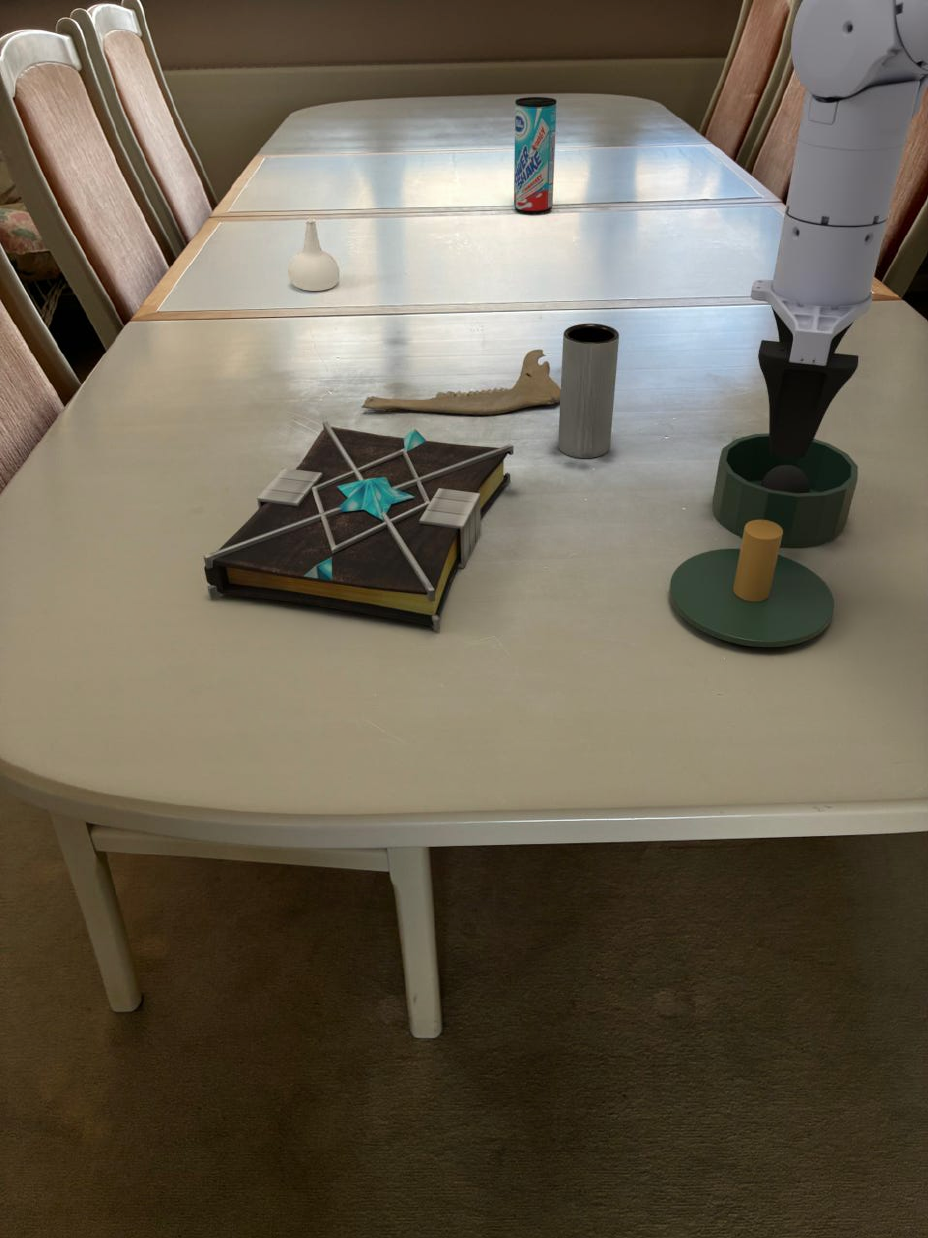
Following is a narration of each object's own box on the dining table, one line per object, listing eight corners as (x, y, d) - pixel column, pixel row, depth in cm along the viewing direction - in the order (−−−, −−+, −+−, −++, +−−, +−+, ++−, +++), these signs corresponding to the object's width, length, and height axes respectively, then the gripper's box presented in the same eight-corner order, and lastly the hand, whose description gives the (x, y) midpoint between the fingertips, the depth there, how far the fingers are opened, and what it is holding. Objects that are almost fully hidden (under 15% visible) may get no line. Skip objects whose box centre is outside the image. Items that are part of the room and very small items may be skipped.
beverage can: (506, 208, 148) (507, 99, 138) (539, 203, 150) (542, 95, 141) (526, 217, 143) (529, 105, 134) (559, 212, 146) (564, 101, 136)
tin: (845, 491, 77) (858, 442, 75) (843, 557, 70) (857, 505, 67) (720, 474, 80) (728, 426, 77) (704, 535, 73) (712, 484, 70)
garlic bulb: (313, 274, 124) (306, 209, 119) (350, 282, 121) (345, 216, 116) (279, 288, 120) (270, 221, 115) (317, 297, 117) (310, 228, 112)
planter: (618, 454, 83) (628, 338, 77) (569, 462, 82) (576, 346, 76) (596, 432, 87) (605, 320, 80) (550, 439, 86) (554, 326, 79)
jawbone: (590, 402, 93) (592, 383, 91) (401, 456, 85) (400, 436, 84) (539, 364, 99) (541, 345, 97) (358, 411, 91) (357, 391, 90)
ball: (801, 503, 76) (817, 463, 74) (799, 525, 73) (815, 485, 71) (756, 491, 76) (770, 451, 74) (752, 513, 74) (767, 472, 72)
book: (325, 457, 83) (319, 404, 80) (514, 481, 80) (515, 426, 77) (207, 600, 67) (194, 540, 64) (437, 638, 63) (435, 576, 60)
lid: (833, 575, 68) (853, 500, 64) (828, 668, 60) (850, 589, 56) (680, 550, 71) (691, 477, 67) (656, 636, 63) (666, 559, 59)
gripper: (775, 180, 62) (742, 378, 70) (752, 243, 51) (716, 469, 60) (890, 187, 60) (843, 390, 69) (892, 254, 50) (835, 485, 58)
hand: (791, 428), depth 64 cm, fingers open, 7 cm apart
